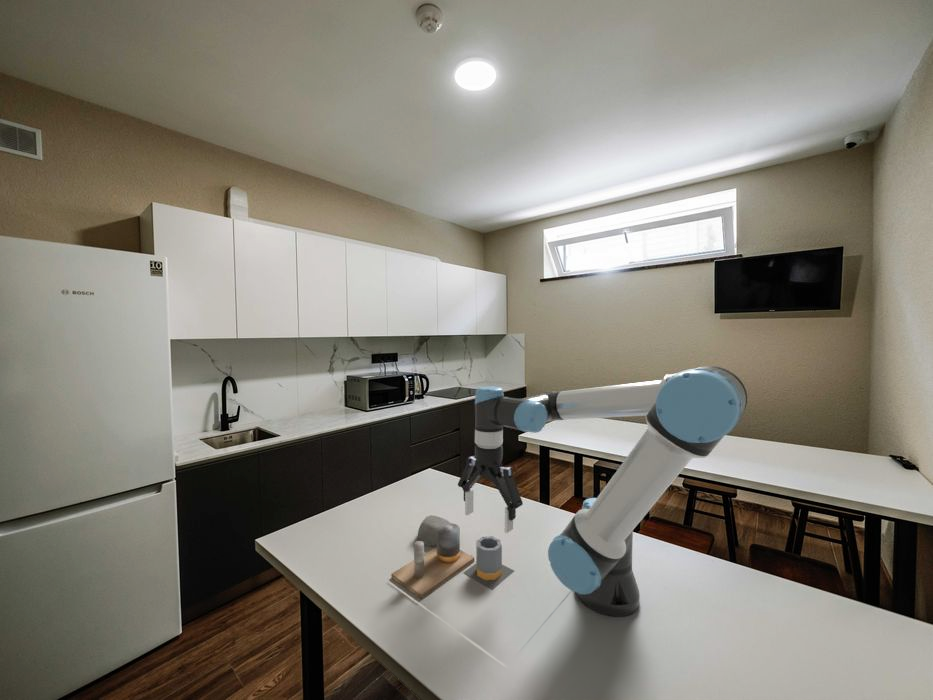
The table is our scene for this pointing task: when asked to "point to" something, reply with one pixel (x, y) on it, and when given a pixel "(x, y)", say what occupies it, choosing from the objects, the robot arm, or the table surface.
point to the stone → (430, 530)
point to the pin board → (434, 562)
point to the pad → (489, 583)
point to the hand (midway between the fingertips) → (488, 521)
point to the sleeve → (489, 558)
